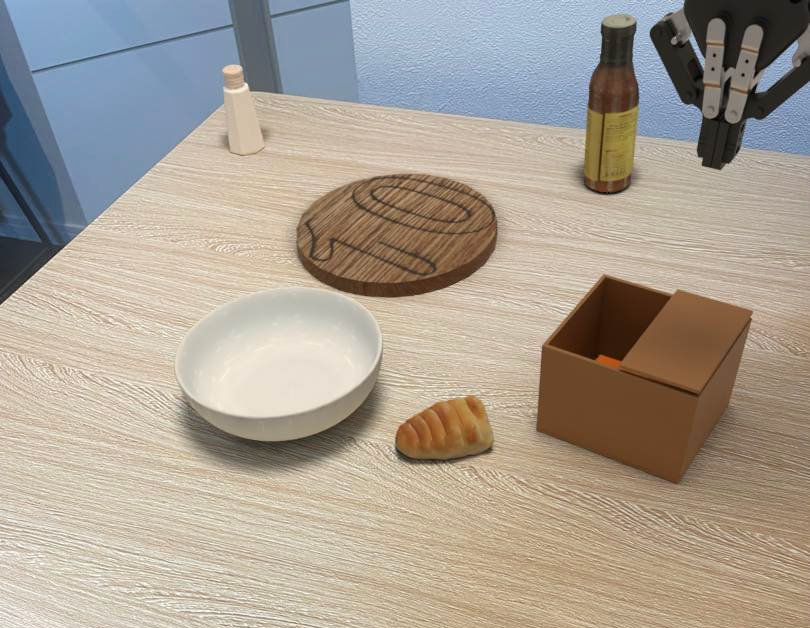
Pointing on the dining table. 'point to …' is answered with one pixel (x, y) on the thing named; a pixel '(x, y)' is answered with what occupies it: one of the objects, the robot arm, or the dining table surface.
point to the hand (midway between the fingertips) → (715, 163)
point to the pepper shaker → (240, 113)
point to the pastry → (446, 430)
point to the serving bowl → (280, 362)
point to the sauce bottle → (612, 109)
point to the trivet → (397, 235)
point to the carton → (626, 385)
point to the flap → (686, 341)
